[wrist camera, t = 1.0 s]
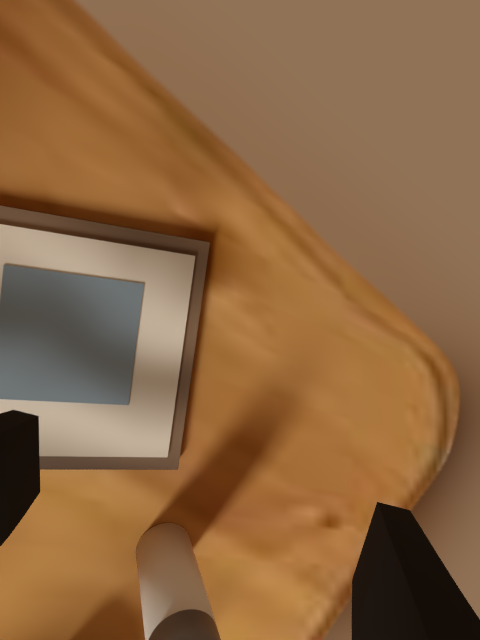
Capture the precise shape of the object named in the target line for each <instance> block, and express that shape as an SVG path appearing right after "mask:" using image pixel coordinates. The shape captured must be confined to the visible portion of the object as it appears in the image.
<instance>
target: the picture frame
mask: <svg viewBox="0 0 480 640" xmlns="http://www.w3.org/2000/svg"><path fill="white" fill-rule="evenodd" d="M209 246H210V242H205V241H199V240H194V239H188V238H182V237H177V236H171V235H165V234H159V233H154V232H148V231H142V230H137V229H131V228H125V227H120V226H114V225H108V224H103V223H97V222H91V221H85V220H80V219H74V218H68V217H63V216H57V215H51V214H46V213H40V212H34V211H29V210H23V209H17V208H11V207H6V206H0V413H4V412H7V411H11V410H17V411H21V412H25V413H29V414H33V415H37V416H39V459H40V469H132V470H178V466H179V459H180V452H181V445H182V438H183V430H184V423H185V416H186V409H187V402H188V395H189V388H190V381H191V374H192V367H193V359H194V352H195V345H196V338H197V331H198V324H199V317H200V310H201V303H202V295H203V288H204V281H205V274H206V267H207V260H208V253H209Z"/></svg>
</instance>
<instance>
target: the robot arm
mask: <svg viewBox="0 0 480 640" xmlns="http://www.w3.org/2000/svg"><path fill="white" fill-rule="evenodd" d="M39 493H40V459H39V416H37V415H33V414H29V413H25V412H21V411H17V410H11V411H7V412H4V413H0V546H1V545H2V544H3V543H4V541H5V540H6V539H7V538H8V537H9V536H10V534H11V533H12V531H13V530H14V529H15V527H16V526H17V525H18V523H19V522H20V520H21V519H22V518H23V516H24V515H25V513H26V512H27V510H28V509H29V507H30V506H31V504H32V503H33V502H34V500H35V499H36V497H37V496H38V494H39ZM352 640H480V620H479V618H478V616H477V615H476V613H475V612H474V610H473V609H472V607H471V606H470V604H469V603H468V602H467V600H466V598H465V597H464V595H463V594H462V592H461V591H460V589H459V588H458V586H457V585H456V583H455V581H454V580H453V578H452V577H451V576H450V574H449V572H448V570H447V569H446V567H445V566H444V564H443V562H442V561H441V559H440V558H439V556H438V555H437V553H436V551H435V550H434V548H433V547H432V545H431V543H430V542H429V540H428V539H427V537H426V535H425V534H424V532H423V530H422V529H421V527H420V526H419V524H418V522H417V521H416V520H415V518H414V516H413V515H412V513H411V511H410V510H406V509H402V508H399V507H395V506H391V505H387V504H383V503H379V502H377V505H376V508H375V511H374V514H373V517H372V520H371V523H370V526H369V530H368V533H367V536H366V539H365V542H364V545H363V548H362V551H361V554H360V558H359V561H358V564H357V567H356V570H355V573H354V576H353V579H352Z"/></svg>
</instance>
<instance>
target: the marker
mask: <svg viewBox="0 0 480 640" xmlns="http://www.w3.org/2000/svg"><path fill="white" fill-rule="evenodd" d="M136 559H137V568H138V577H139V587H140V596H141V605H142V615H143V624H144V633H145V640H221V639H220V636H219V633H218V629H217V626H216V623H215V619H214V616H213V613H212V610H211V606H210V603H209V600H208V597H207V593H206V590H205V587H204V584H203V580H202V577H201V574H200V571H199V567H198V564H197V561H196V557H195V554H194V551H193V548H192V544H191V541H190V538H189V535H188V533H187V532H186V530H185V529H184V528H183V527H181V526H180V525H177V524H174V523H162V524H159V525H156V526H154V527H152V528H150V529H149V530H148V531H146V532H145V533H144V534H143V536H142V537H141V538H140V540H139V542H138V545H137V548H136Z"/></svg>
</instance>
